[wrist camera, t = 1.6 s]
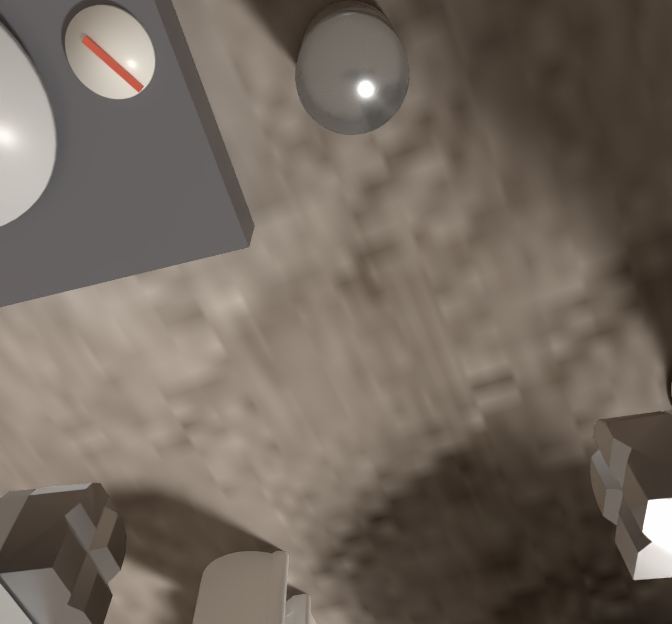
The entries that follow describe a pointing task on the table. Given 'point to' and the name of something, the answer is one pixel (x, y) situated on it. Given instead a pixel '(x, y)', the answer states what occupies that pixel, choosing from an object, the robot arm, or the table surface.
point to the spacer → (351, 68)
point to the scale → (106, 148)
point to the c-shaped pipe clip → (250, 591)
